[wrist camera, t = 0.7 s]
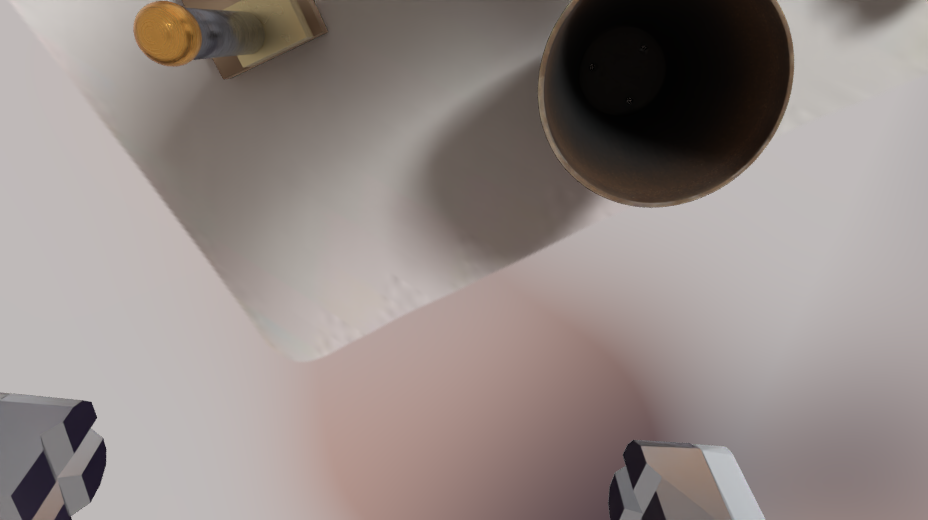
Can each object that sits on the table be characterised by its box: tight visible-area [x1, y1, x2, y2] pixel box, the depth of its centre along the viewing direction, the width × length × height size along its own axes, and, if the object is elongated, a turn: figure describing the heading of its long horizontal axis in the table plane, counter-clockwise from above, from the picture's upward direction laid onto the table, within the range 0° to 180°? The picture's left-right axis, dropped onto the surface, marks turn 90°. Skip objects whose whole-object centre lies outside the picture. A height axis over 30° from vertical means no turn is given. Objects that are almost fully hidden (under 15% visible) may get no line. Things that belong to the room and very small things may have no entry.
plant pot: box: [538, 0, 794, 208], centre depth 43 cm, size 15×15×16 cm
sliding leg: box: [133, 0, 314, 68], centre depth 42 cm, size 4×6×16 cm
